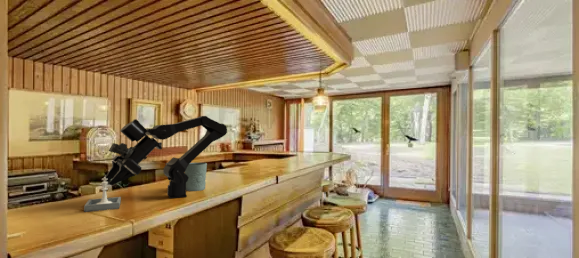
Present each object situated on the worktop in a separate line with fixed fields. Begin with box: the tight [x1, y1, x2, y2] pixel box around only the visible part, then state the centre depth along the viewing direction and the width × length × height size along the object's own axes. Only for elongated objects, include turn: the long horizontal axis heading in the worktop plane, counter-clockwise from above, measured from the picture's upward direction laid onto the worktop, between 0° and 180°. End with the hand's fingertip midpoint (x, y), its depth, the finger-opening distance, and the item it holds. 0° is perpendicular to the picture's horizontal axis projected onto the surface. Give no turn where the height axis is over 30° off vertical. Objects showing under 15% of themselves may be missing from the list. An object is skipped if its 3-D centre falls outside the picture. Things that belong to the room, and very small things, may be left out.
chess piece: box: [97, 176, 112, 204], centre depth 99 cm, size 5×5×10 cm
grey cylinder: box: [184, 162, 208, 192], centre depth 132 cm, size 10×10×12 cm
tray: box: [83, 196, 122, 213], centre depth 99 cm, size 10×10×2 cm
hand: (107, 182), depth 100 cm, fingers open, 9 cm apart
